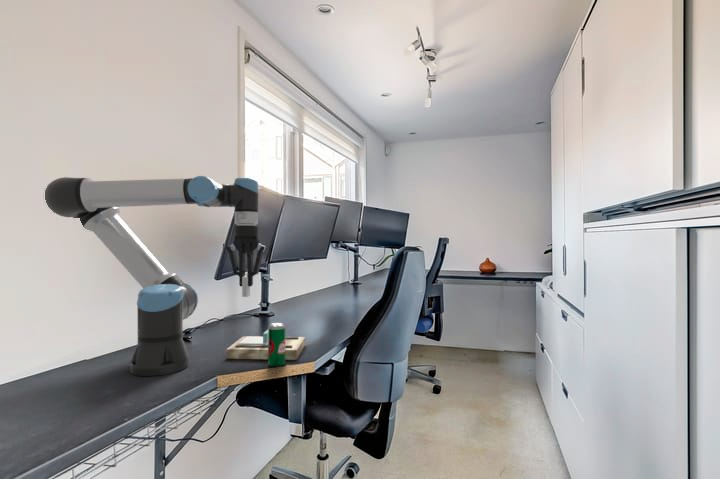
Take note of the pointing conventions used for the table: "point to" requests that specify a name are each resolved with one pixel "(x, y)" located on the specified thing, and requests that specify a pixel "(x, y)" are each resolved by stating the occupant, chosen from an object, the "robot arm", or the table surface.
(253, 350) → the socket board
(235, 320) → the table surface
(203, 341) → the table surface
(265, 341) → the shutter
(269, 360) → the soda can
